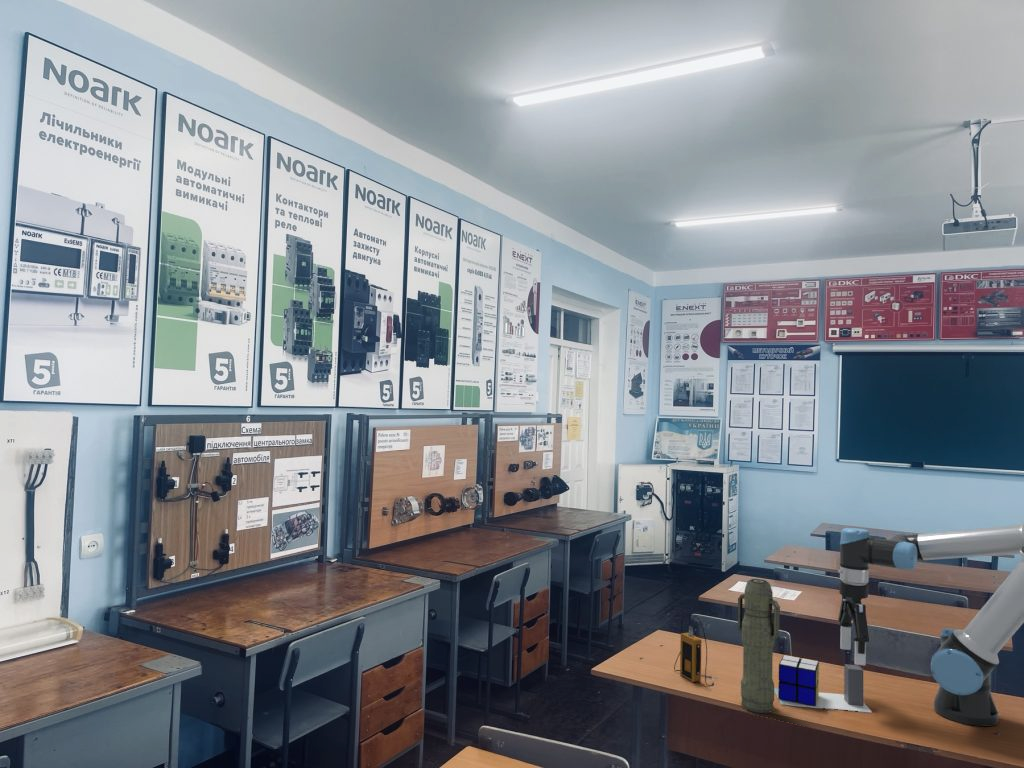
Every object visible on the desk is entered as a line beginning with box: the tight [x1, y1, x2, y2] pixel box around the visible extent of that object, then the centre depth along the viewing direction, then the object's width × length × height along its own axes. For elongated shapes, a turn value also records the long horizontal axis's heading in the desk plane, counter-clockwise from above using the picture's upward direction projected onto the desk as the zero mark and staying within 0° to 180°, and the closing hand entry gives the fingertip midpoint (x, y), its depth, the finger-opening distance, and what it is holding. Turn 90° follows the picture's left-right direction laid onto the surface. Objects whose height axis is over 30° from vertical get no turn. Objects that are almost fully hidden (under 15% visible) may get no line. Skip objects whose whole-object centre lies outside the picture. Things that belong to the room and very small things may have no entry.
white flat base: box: [774, 663, 873, 714], centre depth 205 cm, size 24×12×10 cm, turn 80°
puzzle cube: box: [777, 654, 820, 706], centre depth 206 cm, size 10×10×10 cm
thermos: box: [737, 578, 781, 714], centre depth 200 cm, size 9×12×35 cm
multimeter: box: [673, 611, 718, 687], centre depth 221 cm, size 15×10×20 cm
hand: (852, 656), depth 204 cm, fingers open, 13 cm apart
